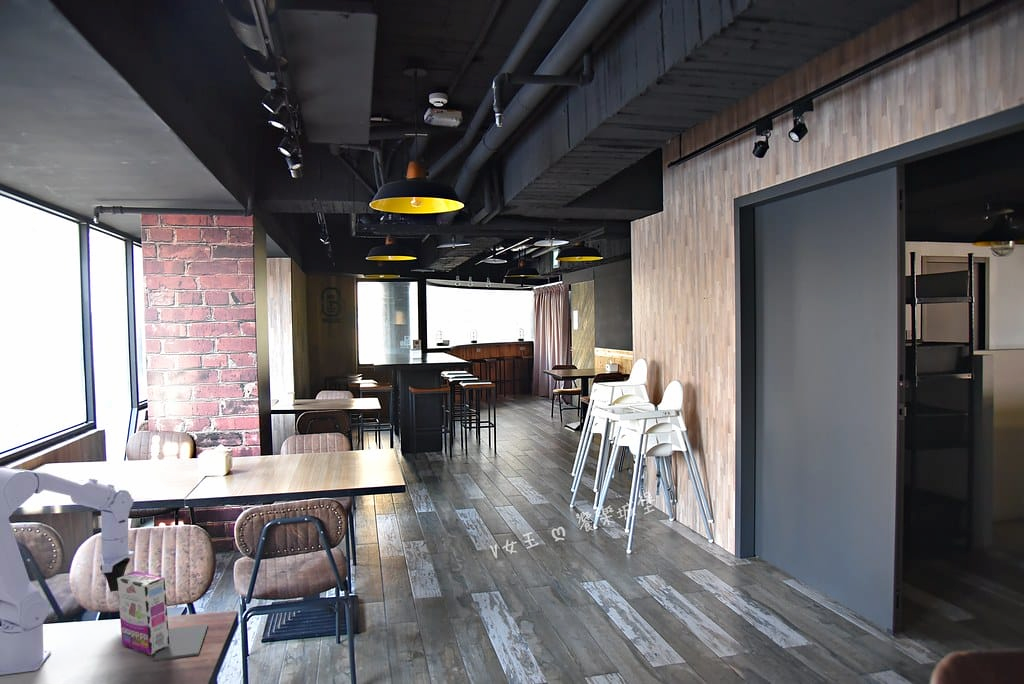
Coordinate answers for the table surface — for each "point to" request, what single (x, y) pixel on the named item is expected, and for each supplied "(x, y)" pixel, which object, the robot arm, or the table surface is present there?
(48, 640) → the table surface
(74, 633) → the table surface
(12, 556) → the robot arm
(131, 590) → the candy bar box
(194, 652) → the mat
